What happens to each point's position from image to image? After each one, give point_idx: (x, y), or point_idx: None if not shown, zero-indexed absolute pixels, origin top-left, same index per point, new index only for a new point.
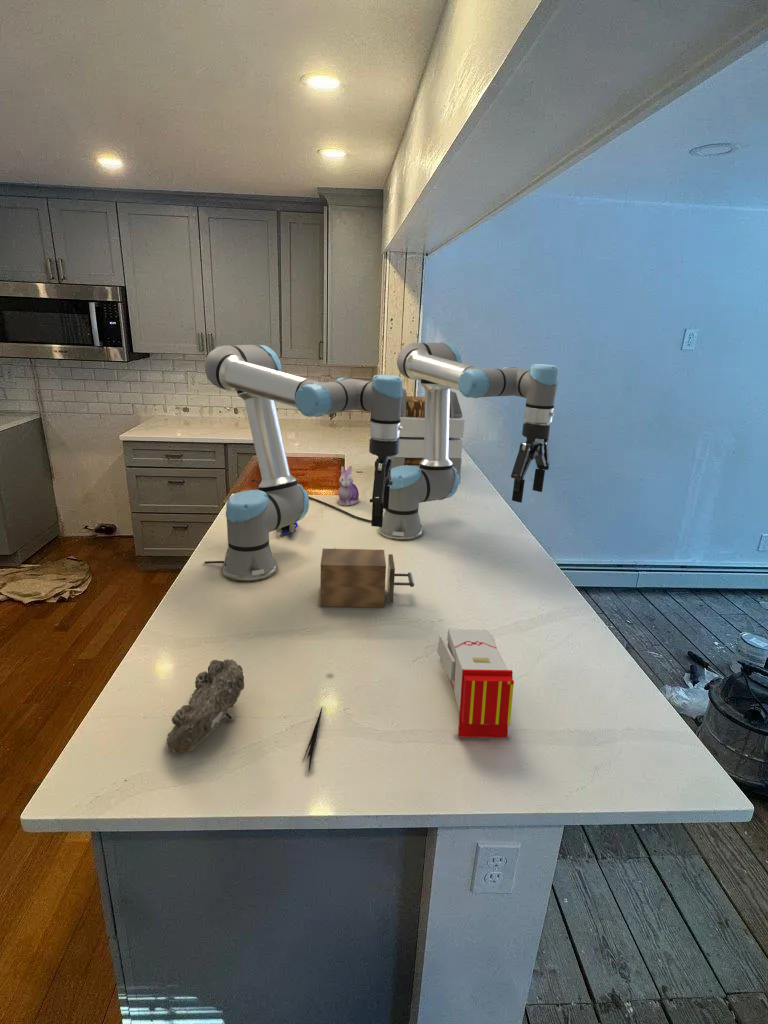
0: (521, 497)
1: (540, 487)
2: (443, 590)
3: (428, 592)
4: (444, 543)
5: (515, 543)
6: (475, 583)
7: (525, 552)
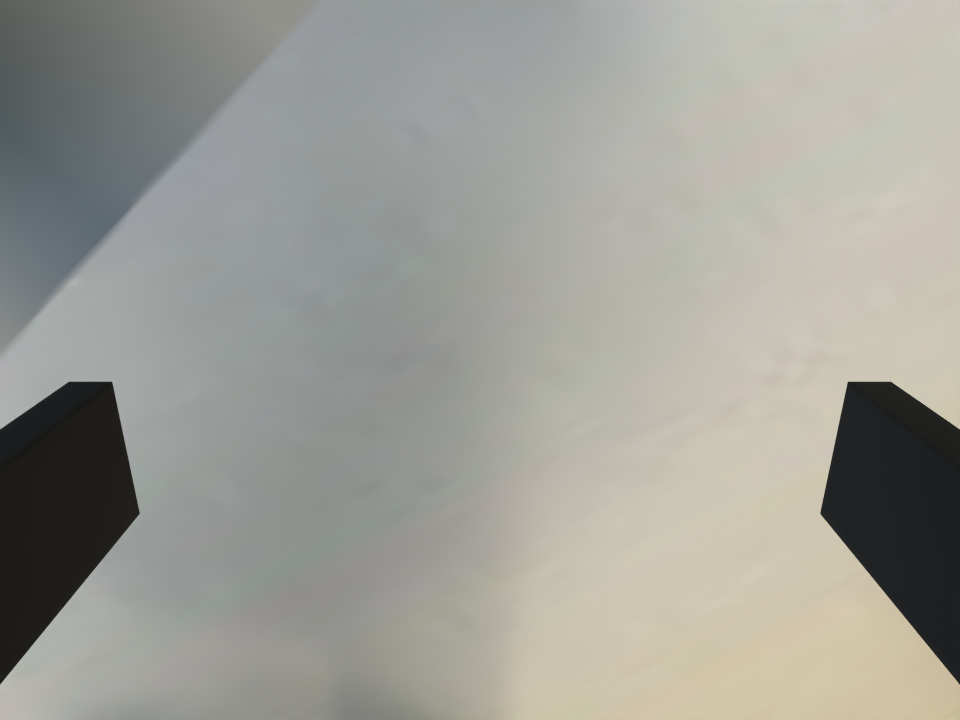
0: (941, 419)
1: (72, 436)
2: None
3: None
4: (387, 652)
5: None
6: (703, 338)
7: (142, 322)
